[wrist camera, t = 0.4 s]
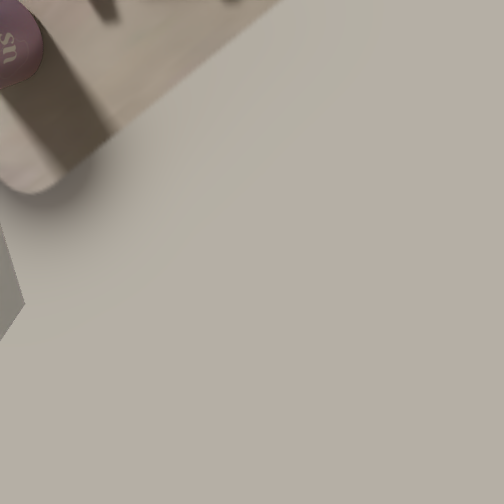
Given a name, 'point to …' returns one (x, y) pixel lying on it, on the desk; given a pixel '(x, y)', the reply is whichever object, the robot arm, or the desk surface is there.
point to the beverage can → (18, 43)
